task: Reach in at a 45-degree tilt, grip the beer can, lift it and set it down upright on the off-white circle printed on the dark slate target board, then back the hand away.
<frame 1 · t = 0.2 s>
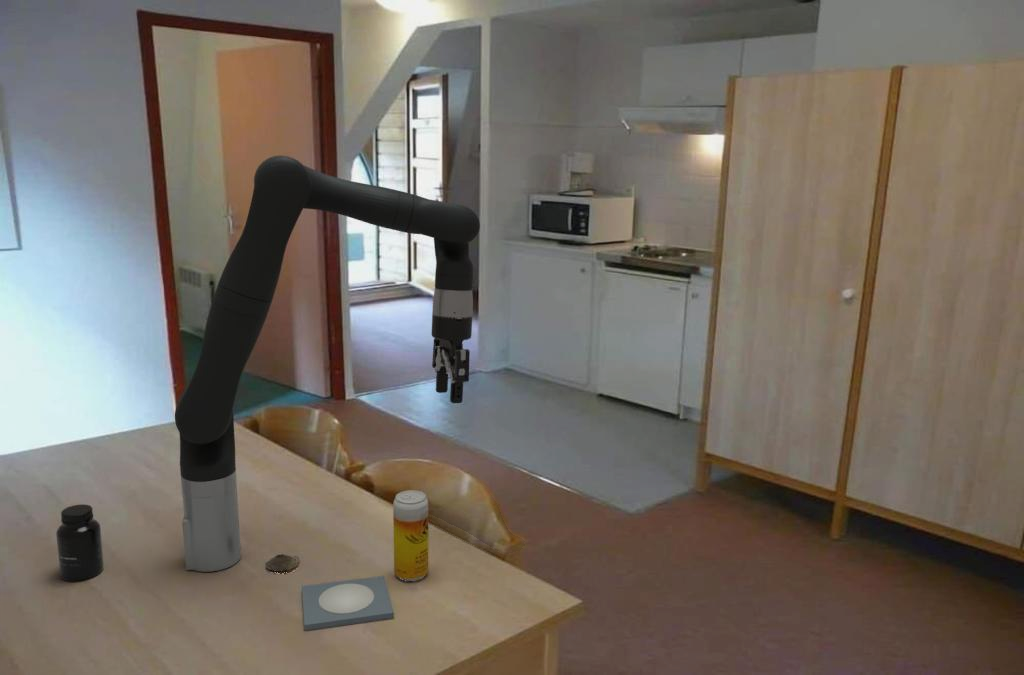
hand: (448, 397, 151), 28 cm above the table, tool pointing down, fingers open, 8 cm apart
beer can: (411, 575, 142), on the table
decorative disc: (283, 567, 145), on the table
target board: (346, 604, 132), on the table
supplement bottle: (82, 573, 141), on the table
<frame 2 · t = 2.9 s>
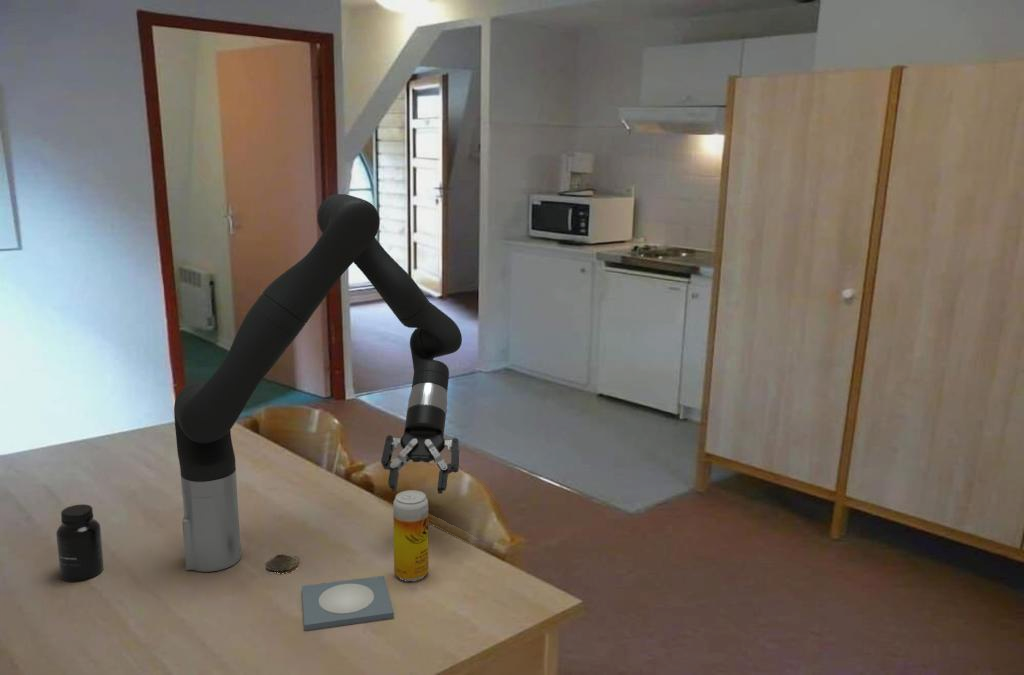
hand: (416, 491, 145), 13 cm above the table, tool tilted 45°, fingers open, 8 cm apart
nothing on the table moved.
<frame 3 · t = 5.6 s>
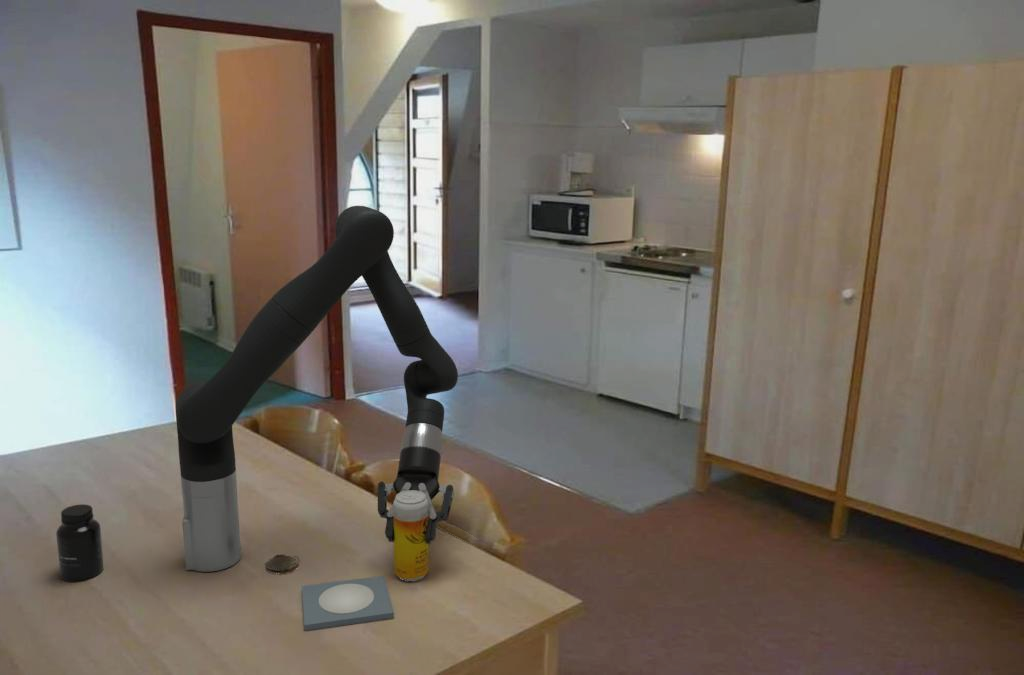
hand: (409, 541, 139), 7 cm above the table, tool tilted 45°, fingers closed on beer can, 6 cm apart
beer can: (411, 575, 142), on the table, touching gripper
everything else where it was.
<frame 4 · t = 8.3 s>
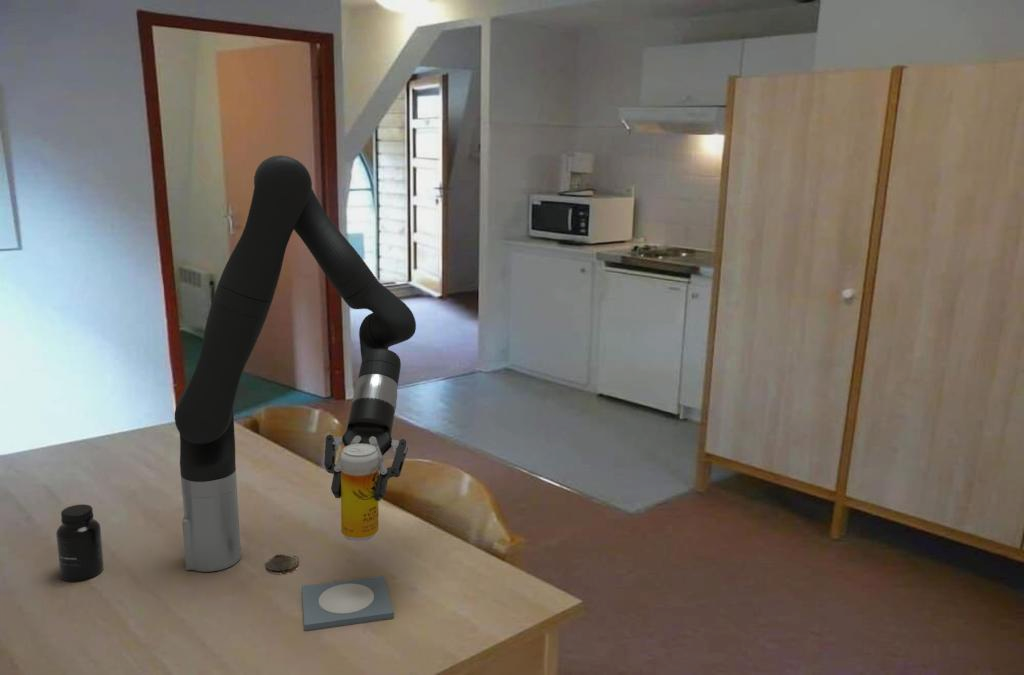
hand: (357, 497, 129), 19 cm above the table, tool tilted 45°, fingers closed on beer can, 6 cm apart
beer can: (359, 535, 133), point 11 cm above the table, touching gripper
everything else where it was.
when the fingers open (10 cm above the table, at t = 11.3 s): beer can drops 1 cm, resting on target board.
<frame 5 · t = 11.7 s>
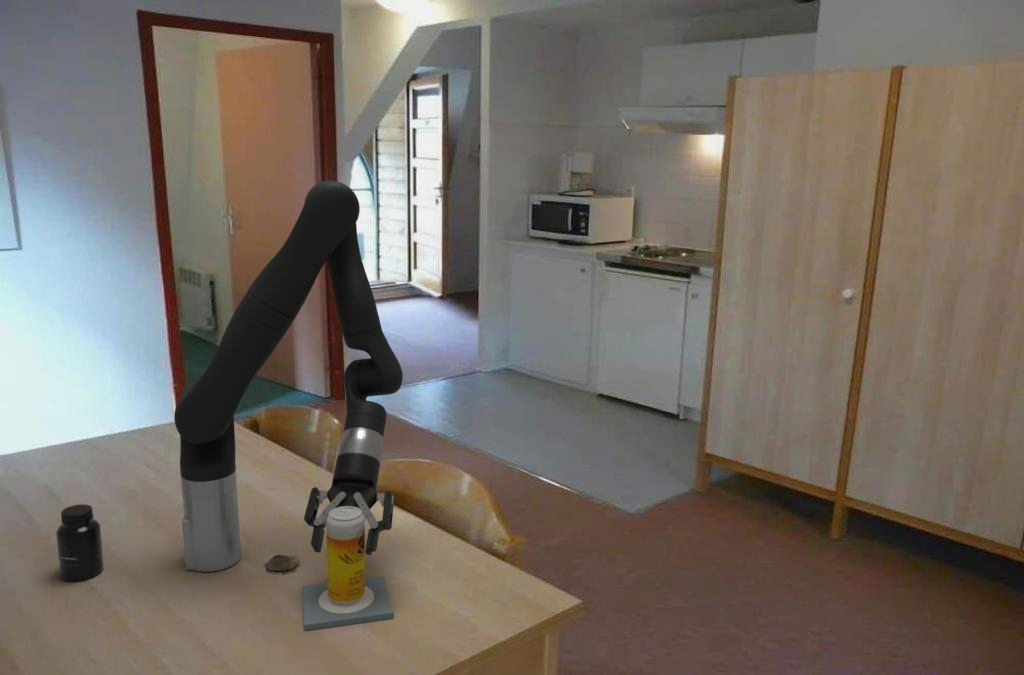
hand: (342, 552, 129), 10 cm above the table, tool tilted 45°, fingers open, 8 cm apart
beer can: (346, 597, 132), point 1 cm above the table, touching target board
everything else where it was.
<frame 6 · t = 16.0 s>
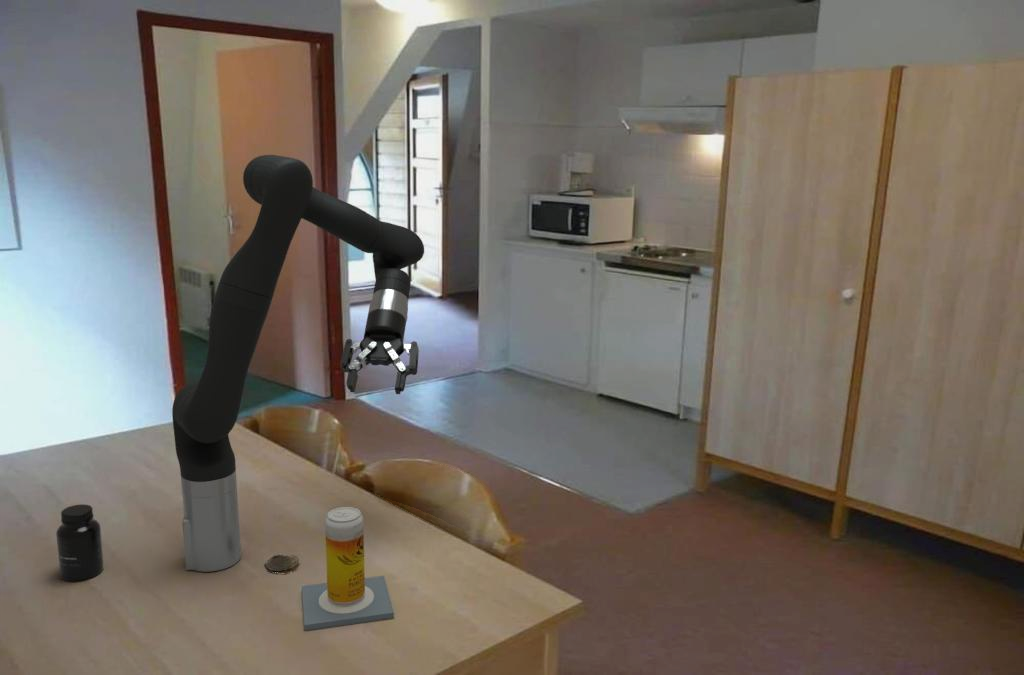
hand: (374, 391, 146), 31 cm above the table, tool tilted 45°, fingers open, 8 cm apart
nothing on the table moved.
at the end: beer can inside the target area on the target board (0.2 cm from its centre), point 1.0 cm above the target board's base; beer can tilted 0°; the gripper is holding nothing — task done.
